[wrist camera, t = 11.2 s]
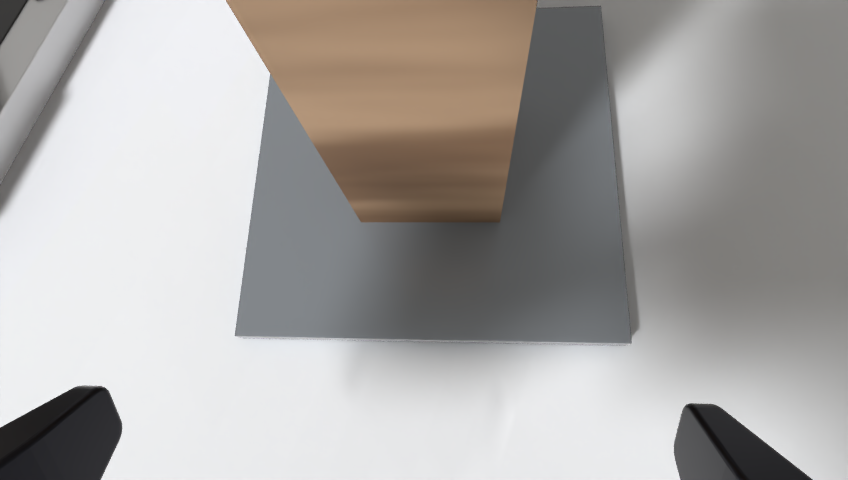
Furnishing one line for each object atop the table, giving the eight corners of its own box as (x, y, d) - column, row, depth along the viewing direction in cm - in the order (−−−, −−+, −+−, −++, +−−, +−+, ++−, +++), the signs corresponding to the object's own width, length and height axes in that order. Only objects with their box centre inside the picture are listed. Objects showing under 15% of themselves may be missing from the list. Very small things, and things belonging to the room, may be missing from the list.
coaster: (625, 345, 16) (631, 343, 15) (242, 338, 17) (234, 335, 16) (596, 17, 19) (600, 6, 18) (283, 29, 20) (277, 18, 20)
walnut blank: (499, 222, 16) (568, -187, 5) (361, 222, 17) (131, -156, 5) (498, 99, 18) (549, -446, 6) (369, 102, 18) (198, -407, 7)
